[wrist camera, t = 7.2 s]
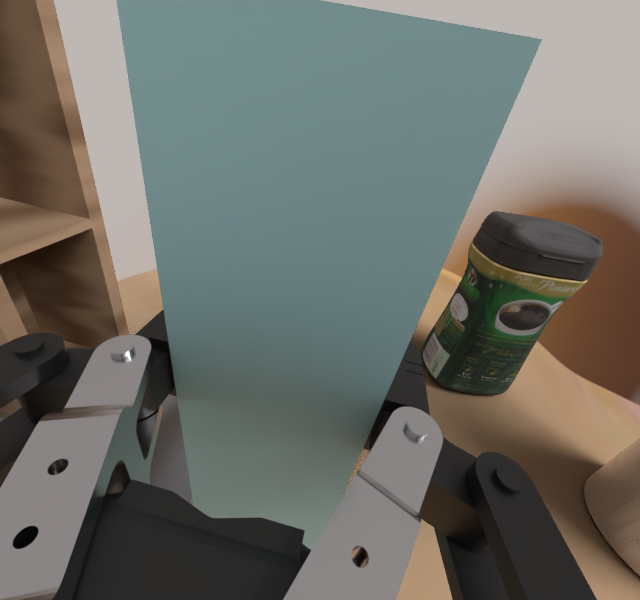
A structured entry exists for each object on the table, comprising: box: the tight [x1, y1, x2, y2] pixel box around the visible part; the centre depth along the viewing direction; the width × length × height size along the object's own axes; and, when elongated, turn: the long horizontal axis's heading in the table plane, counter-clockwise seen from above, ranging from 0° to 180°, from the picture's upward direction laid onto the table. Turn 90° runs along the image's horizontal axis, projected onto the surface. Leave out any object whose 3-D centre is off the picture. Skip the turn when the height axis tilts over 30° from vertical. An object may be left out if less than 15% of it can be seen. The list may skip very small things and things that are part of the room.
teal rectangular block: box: [117, 0, 542, 550], centre depth 10 cm, size 6×4×18 cm, turn 79°
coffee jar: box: [422, 211, 603, 395], centre depth 31 cm, size 10×8×19 cm
